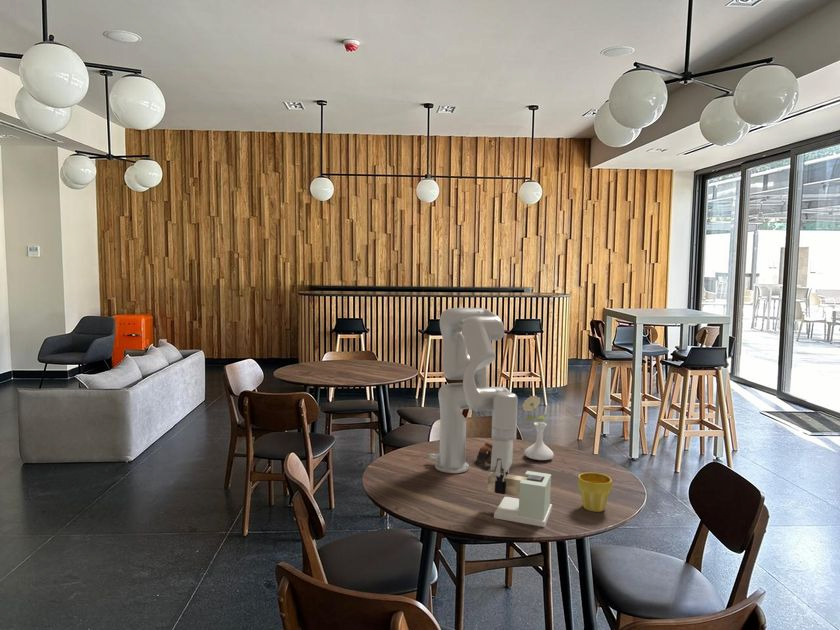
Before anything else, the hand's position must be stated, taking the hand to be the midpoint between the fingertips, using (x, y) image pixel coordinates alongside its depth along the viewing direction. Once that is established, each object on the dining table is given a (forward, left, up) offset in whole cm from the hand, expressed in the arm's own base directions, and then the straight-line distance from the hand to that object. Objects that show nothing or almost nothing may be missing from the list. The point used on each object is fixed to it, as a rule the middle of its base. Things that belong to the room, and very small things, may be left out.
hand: (501, 490), depth 185 cm
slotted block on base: (+7, 0, -6) cm, 9 cm away
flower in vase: (+2, +54, -6) cm, 55 cm away
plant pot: (+27, +13, -6) cm, 30 cm away
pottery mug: (-14, +41, -6) cm, 44 cm away
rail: (+4, 0, 0) cm, 4 cm away
